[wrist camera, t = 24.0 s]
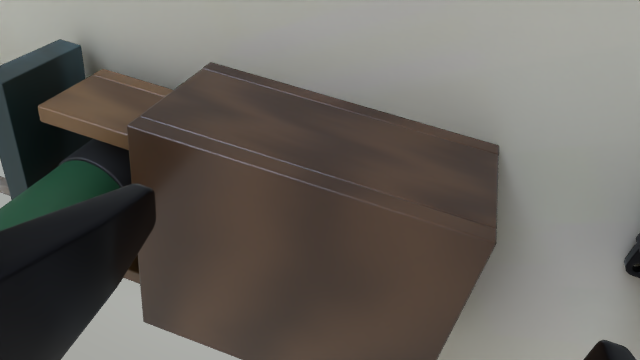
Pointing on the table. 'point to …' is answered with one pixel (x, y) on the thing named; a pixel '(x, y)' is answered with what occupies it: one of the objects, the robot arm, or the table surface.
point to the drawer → (63, 113)
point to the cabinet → (307, 222)
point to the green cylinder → (71, 183)
